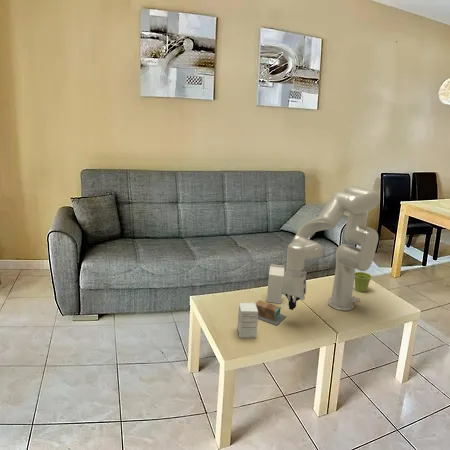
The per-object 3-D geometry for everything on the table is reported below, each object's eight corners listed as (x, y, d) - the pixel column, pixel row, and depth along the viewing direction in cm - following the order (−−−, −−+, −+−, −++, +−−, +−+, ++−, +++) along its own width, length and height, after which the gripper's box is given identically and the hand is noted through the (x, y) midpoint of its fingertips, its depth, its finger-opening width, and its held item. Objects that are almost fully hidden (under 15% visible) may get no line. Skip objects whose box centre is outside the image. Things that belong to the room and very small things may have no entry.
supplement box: (236, 328, 169) (238, 302, 165) (253, 328, 170) (255, 302, 166) (238, 338, 162) (240, 311, 158) (256, 338, 163) (258, 311, 159)
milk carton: (280, 304, 193) (284, 268, 187) (266, 302, 194) (269, 266, 189) (281, 297, 199) (285, 263, 194) (267, 295, 201) (270, 261, 195)
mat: (286, 316, 181) (286, 315, 181) (276, 325, 173) (276, 324, 172) (259, 307, 188) (259, 306, 188) (249, 316, 180) (249, 315, 180)
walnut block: (280, 306, 178) (259, 299, 184) (276, 311, 174) (254, 303, 180) (279, 316, 180) (258, 309, 185) (275, 321, 176) (253, 313, 181)
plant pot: (348, 289, 213) (350, 274, 211) (357, 284, 220) (359, 270, 217) (364, 295, 207) (366, 280, 204) (372, 290, 213) (375, 276, 211)
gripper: (314, 272, 167) (310, 309, 173) (282, 264, 175) (280, 300, 180) (307, 278, 161) (304, 317, 167) (275, 269, 169) (273, 307, 174)
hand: (291, 308), depth 173 cm, fingers closed
